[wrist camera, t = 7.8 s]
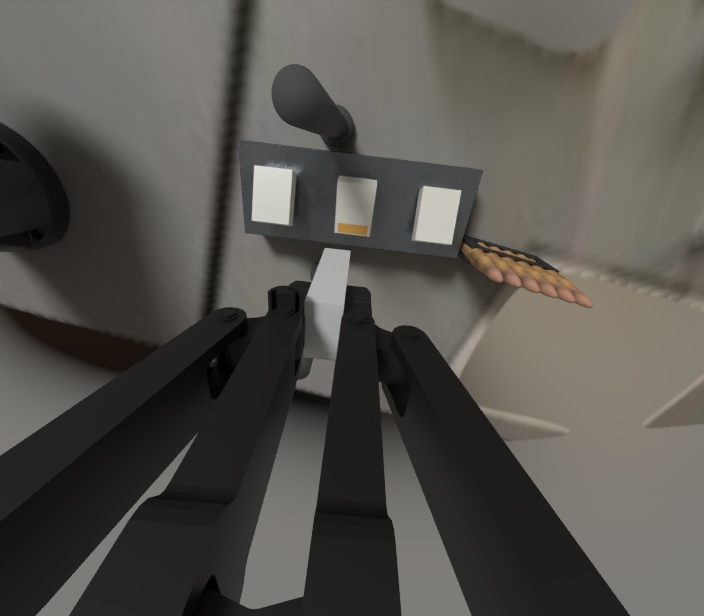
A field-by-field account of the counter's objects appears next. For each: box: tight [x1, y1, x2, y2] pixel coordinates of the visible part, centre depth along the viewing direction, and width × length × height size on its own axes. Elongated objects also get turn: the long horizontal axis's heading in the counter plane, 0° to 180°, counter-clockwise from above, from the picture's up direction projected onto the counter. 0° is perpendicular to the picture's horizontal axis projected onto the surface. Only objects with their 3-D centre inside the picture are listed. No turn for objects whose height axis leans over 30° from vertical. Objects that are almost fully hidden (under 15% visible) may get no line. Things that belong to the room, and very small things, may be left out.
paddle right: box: [412, 186, 461, 245], centre depth 28 cm, size 4×5×2 cm
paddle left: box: [252, 165, 296, 226], centre depth 28 cm, size 4×5×2 cm
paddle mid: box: [334, 176, 377, 237], centre depth 28 cm, size 4×5×2 cm
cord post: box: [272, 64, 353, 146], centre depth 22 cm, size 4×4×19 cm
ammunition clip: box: [458, 235, 593, 308], centre depth 30 cm, size 11×2×12 cm, turn 75°
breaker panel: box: [238, 140, 483, 258], centre depth 31 cm, size 24×9×4 cm, turn 84°
